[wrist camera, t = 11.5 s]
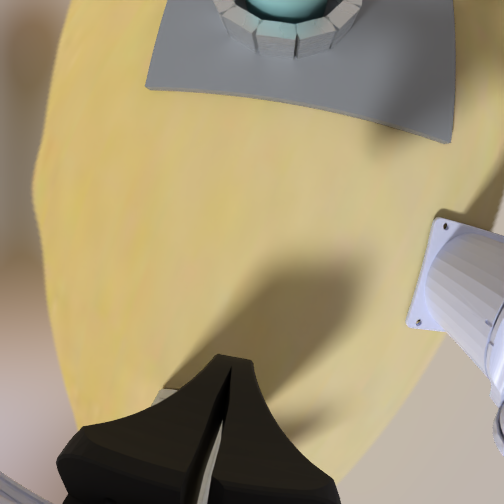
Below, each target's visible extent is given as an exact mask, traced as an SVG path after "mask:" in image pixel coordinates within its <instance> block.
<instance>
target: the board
mask: <svg viewBox="0 0 504 504" xmlns="http://www.w3.org/2000/svg"><path fill="white" fill-rule="evenodd" d="M235 4H236V5H237V6H239V7H241V8H242V9H244V10H246V11H248V9H247V4H246V0H235ZM337 6H338V2H337V0H328V1H327V5H326V8H325V12H324V15H323V17H326V16H327V15H328V14H329V13H330V12H331V11H332V10H334V9H335V8H336V7H337ZM455 71H456V51H455V23H454V9H453V0H362V6H361V8H360V10H359V12H358V14H357V16H356V18H355V21H354V23H353V25H352V27H351V29H350V31H349V32H348V33H347V34H346V35H345V36H344V37H343V38H342V39H341V40H340V41H339V42H338V43H337V44H336V45H335V46H334V47H333V48H332V49H330V48H329V50H328V51H327V52H323V53H319V54H316V55H312V56H309V57H305V58H302V59H298V60H297V58H296V56H295V54H294V58H293V60H290V59H284V58H277V57H270V56H262V55H260V54H259V51H258V52H257V53H256V54H255V53H254V52H252V51H251V50H249V49H248V48H246V47H245V46H243V45H242V44H240V43H238V42H237V41H235V40H234V39H232V38H230V35H228V34H227V31H226V29H225V27H224V25H223V23H222V21H221V18H220V16H219V14H218V12H217V10H216V7H215V5H214V2H213V0H168V1H167V4H166V7H165V10H164V14H163V17H162V20H161V24H160V27H159V31H158V35H157V38H156V42H155V46H154V50H153V54H152V58H151V62H150V66H149V71H148V75H147V80H146V84H145V87H146V88H148V89H150V90H161V91H183V92H198V93H210V94H221V95H230V96H239V97H247V98H255V99H262V100H269V101H276V102H282V103H288V104H294V105H299V106H305V107H310V108H315V109H320V110H325V111H329V112H334V113H339V114H343V115H347V116H351V117H356V118H360V119H364V120H367V121H371V122H375V123H379V124H382V125H386V126H390V127H393V128H396V129H400V130H403V131H406V132H410V133H413V134H416V135H419V136H422V137H425V138H428V139H431V140H434V141H437V142H440V143H443V144H447V143H451V137H452V127H453V115H454V99H455Z"/></svg>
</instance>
